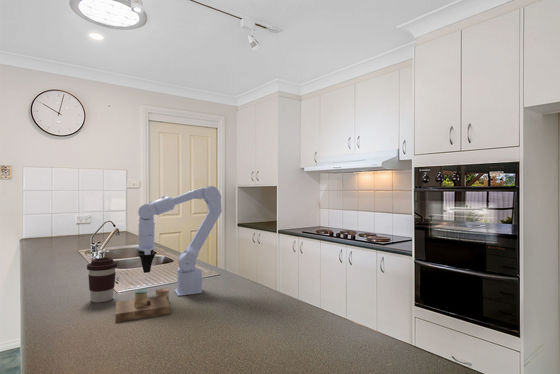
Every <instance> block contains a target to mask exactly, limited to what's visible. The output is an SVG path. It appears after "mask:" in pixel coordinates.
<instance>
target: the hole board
mask: <svg viewBox="0 0 560 374" xmlns="http://www.w3.org/2000/svg"><path fill="white" fill-rule="evenodd" d="M115 305H116V306H115V323H117V322H126V321H131V320H139V319H145V318H152V317H158V316H165V315H170V314H171V305H170V304H169V302H168V300H167V298H166V296H159V297H156V296H153V297H147V306H143V307H136V308H135V299H129V300H127V299H126V300H122V301H116V303H115Z"/></svg>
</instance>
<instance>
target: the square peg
mask: <svg viewBox="0 0 560 374" xmlns="http://www.w3.org/2000/svg"><path fill="white" fill-rule="evenodd" d="M134 293H135V294H134V295H135V296H134V300H135V308H136V307H143V306H147V298H148V289H147V288H139V289H138V288H137V289H135V290H134Z"/></svg>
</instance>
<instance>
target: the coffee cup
mask: <svg viewBox="0 0 560 374" xmlns="http://www.w3.org/2000/svg"><path fill="white" fill-rule="evenodd" d="M117 267H118V261H115V260H114V259H113V258H112V257H98V258H94V259H92V260H91V262H90V263H88V264H87V265H86V270H87V271H88V287H89V295H90V301H91V302H92V303H98V304H99V303H100V304H101V303H105V302H109V301H111V300H112V299H113V298H114V289H115V285H116V284H115V283H116V273H117V272H116V268H117Z"/></svg>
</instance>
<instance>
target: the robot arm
mask: <svg viewBox="0 0 560 374" xmlns="http://www.w3.org/2000/svg"><path fill="white" fill-rule="evenodd" d="M195 199H196V200H204V201H205V203H206V205H207V209H208V212H207V214H206V215H205V217H204V219H203V220H202V222H201V223H200V225H199V228H197V231H196V232H195V234H194V236H193V238H192V240H191V241H190V243H189V244H188V246H187V247H186V248H185V250H184V251H182V252H181V253H180V254H179V256H178V268H177V271H176V272H177V274H176V275H177V278H176V286H177V287H176V288H174V291H175V294H176V296H177V297H180V296H188V295H195V294H202V293H203V275H202V274H203V272H202V269H201V268H197V267H196V261H197V258H198V257H199V253H200V251H201V249H202V247H203V246H204V244H205V242H206V240H207V238H208V237H209V235H210V233H211V231H212V229H213V228H214V226H215V224H216V223H217V220H218V219H219V217H220V216H221V213H222V194H221V193H220V190H219V189H218V188H217V187H216V186H215V185H214V186H213V185H209V186H206V187H200V188H196V189H193V190H190V191H187V192H185V193H182V194H179V195H176V196H174V197H171V196H169V195H168V196H165V195H163V196H161V198H159V199H155V200H154V201H152V200H149V201H148V203H144V204H142V205H141V206H140V207H139V208H138V210H137V211H138V212H137V213H138V216H139V218H138V244H137V246H135V247H134V249H135V250H137V253H138V257H139V258H140V261H141V267H142V270H143V273H145V274H146V273H147V274H148V273H150V272H151V269H152V264H153V260H154V258H155V257H156V253H153V252H154V249H155V247H156V245H155V229H156V228H155V216H159V215H162V214H165V213H168V212H170V211H173V210H174V209H175V207H176V206H177V205H179V204H183V203H185V202H189V201H191V200H195Z"/></svg>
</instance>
